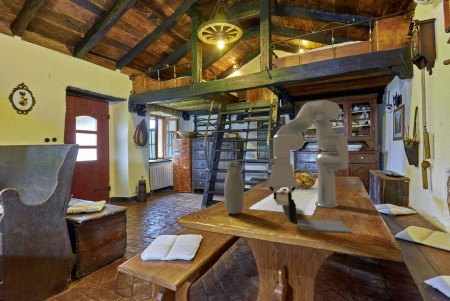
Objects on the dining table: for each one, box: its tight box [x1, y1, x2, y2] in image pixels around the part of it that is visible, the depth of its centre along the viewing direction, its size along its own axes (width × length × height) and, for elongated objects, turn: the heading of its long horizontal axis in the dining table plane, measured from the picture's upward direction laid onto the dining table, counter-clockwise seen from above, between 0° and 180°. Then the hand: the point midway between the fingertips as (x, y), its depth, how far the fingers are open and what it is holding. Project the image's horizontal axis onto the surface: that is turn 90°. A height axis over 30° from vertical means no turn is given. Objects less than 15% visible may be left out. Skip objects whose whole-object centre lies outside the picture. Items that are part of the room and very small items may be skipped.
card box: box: [276, 189, 289, 206], centre depth 108 cm, size 9×5×5 cm, turn 164°
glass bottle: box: [223, 160, 245, 215], centre depth 125 cm, size 10×10×28 cm
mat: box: [295, 219, 351, 234], centre depth 105 cm, size 13×20×1 cm, turn 80°
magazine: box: [281, 188, 297, 221], centre depth 124 cm, size 17×3×30 cm
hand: (282, 200), depth 108 cm, fingers closed on card box, 5 cm apart
